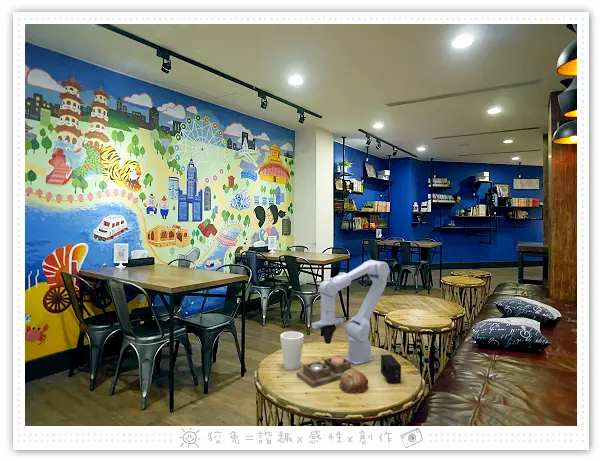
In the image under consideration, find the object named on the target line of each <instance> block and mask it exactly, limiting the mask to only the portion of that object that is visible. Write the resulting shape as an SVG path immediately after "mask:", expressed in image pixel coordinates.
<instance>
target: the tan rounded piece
mask: <svg viewBox="0 0 600 460" xmlns="http://www.w3.org/2000/svg"><path fill="white" fill-rule="evenodd" d="M330 358H331V362H332V363H333V364H335V365H338V364H342V363H343V360H344V359H343V358H344V357H342V356H340V357H336V356H332V357H330Z"/></svg>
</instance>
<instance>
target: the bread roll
mask: <svg viewBox="0 0 600 460" xmlns="http://www.w3.org/2000/svg"><path fill="white" fill-rule="evenodd" d="M356 370H357V369H356ZM356 370H352V369H349V370H346V371H345V372H344V373H343V374H342V375H341V379H340V380H339V381H340V382H339V383H338V386H339V387H340V389H341V390H342V391H343V392H345V393H347V394H359V393H360V394H361V393H364V392H366V390H368V387H369V379H368V378H367V376H366V375H365V374H364V373H363V372H361V371H360V370H357V371H356Z"/></svg>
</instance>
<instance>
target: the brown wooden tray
mask: <svg viewBox="0 0 600 460" xmlns="http://www.w3.org/2000/svg"><path fill="white" fill-rule="evenodd" d="M335 357H341V356H340V355H337V356H335ZM331 358H332V357H330V358H326V359H323V360H324V361H323V362H321V361H319V360H318V361H314V362H310V363H306V364H303V366H302V370H300V371H297V372H296V377H297V378H299V379H300V380H301V381H302V382H304V383H305V384H307V385H308V386H310V387H311V388H312V389H313V388H317V387H319V386H323V385H327V384H330V383H333V382H335V381H340V380H341V375H342V374H343V373H344V372H345V371H346V370H349V369H352V370H356V371H358V369H355V368H354V367H352V364H351V362H350V361H348V360H346V359H344V357H342V358H343V359H344V360H343V363H342V364H338V365H335V364H333V363H332V362H331ZM312 364H321V365H322V366H323V369H320V370H317V371H314V370H312V369H311V368H310V366H311V365H312Z"/></svg>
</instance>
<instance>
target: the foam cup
mask: <svg viewBox="0 0 600 460" xmlns="http://www.w3.org/2000/svg"><path fill="white" fill-rule="evenodd" d="M304 335H305V334H303V332H299V331H285V332H282V333H281V334H279V336H280V340H279V341H280V345H281V352H282V353H281V354H282V361H283V367H284V369H286V370H288V369H289V370H290V371H294V370H295V371H296V370H298V369H300V367H301V360H302V352H303V344H304V339H305V336H304Z"/></svg>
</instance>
